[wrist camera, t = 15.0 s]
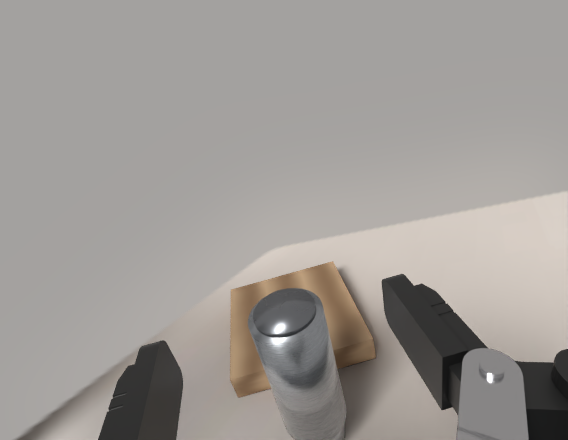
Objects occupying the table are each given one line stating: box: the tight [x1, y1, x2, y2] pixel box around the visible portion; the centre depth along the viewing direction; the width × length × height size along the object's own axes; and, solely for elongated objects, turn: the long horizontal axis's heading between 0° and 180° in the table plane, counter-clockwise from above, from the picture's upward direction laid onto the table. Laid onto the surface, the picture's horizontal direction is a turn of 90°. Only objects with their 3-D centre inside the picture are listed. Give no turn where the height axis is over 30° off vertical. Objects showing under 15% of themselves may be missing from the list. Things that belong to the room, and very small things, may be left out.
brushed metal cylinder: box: [248, 288, 347, 440], centre depth 28 cm, size 6×6×15 cm
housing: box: [230, 261, 376, 398], centre depth 43 cm, size 16×16×3 cm
